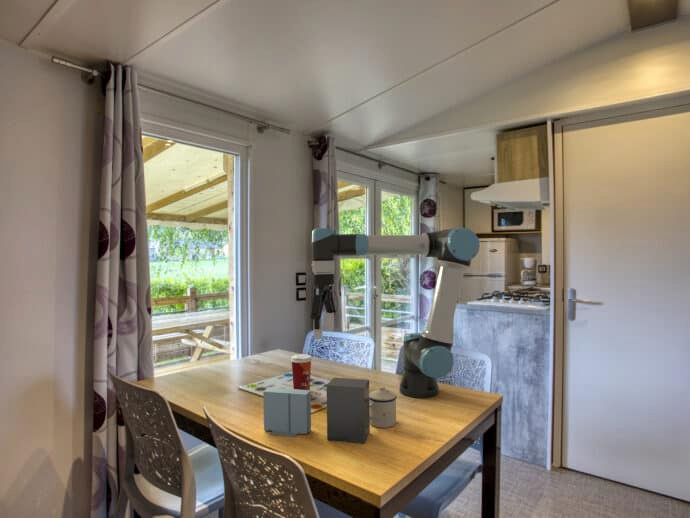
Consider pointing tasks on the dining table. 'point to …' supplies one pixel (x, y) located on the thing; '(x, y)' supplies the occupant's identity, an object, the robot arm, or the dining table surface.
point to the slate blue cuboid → (287, 410)
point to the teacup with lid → (382, 408)
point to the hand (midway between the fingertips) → (324, 334)
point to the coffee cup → (301, 371)
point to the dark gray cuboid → (348, 410)
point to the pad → (283, 433)
